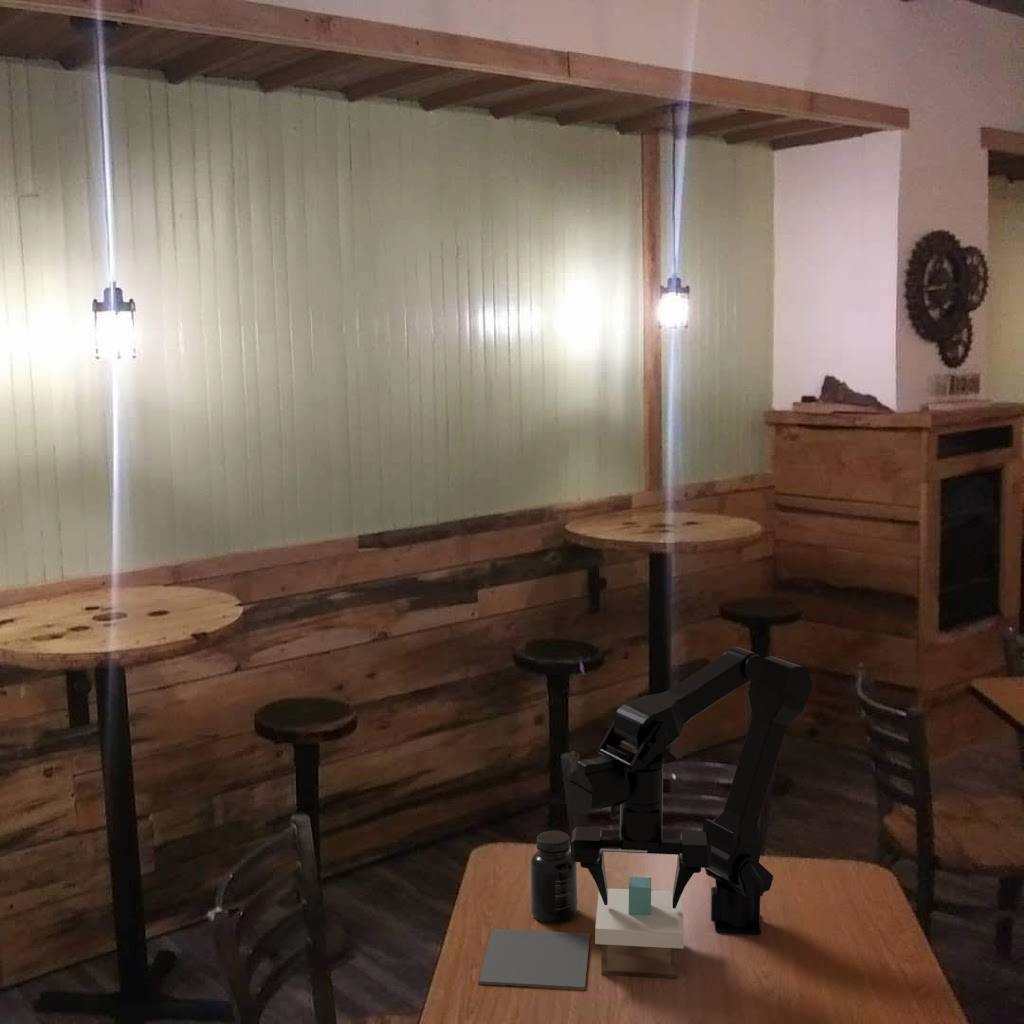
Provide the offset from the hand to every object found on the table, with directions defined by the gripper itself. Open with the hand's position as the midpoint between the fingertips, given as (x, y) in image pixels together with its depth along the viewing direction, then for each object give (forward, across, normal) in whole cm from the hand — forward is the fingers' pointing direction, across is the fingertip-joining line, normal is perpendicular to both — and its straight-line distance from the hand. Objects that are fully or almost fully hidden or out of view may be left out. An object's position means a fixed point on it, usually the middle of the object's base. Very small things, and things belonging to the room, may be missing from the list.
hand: (639, 905), depth 168 cm
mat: (+8, +14, +2) cm, 16 cm away
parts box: (+8, 0, 0) cm, 8 cm away
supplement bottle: (+8, +13, -11) cm, 18 cm away
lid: (+3, 0, 0) cm, 3 cm away
